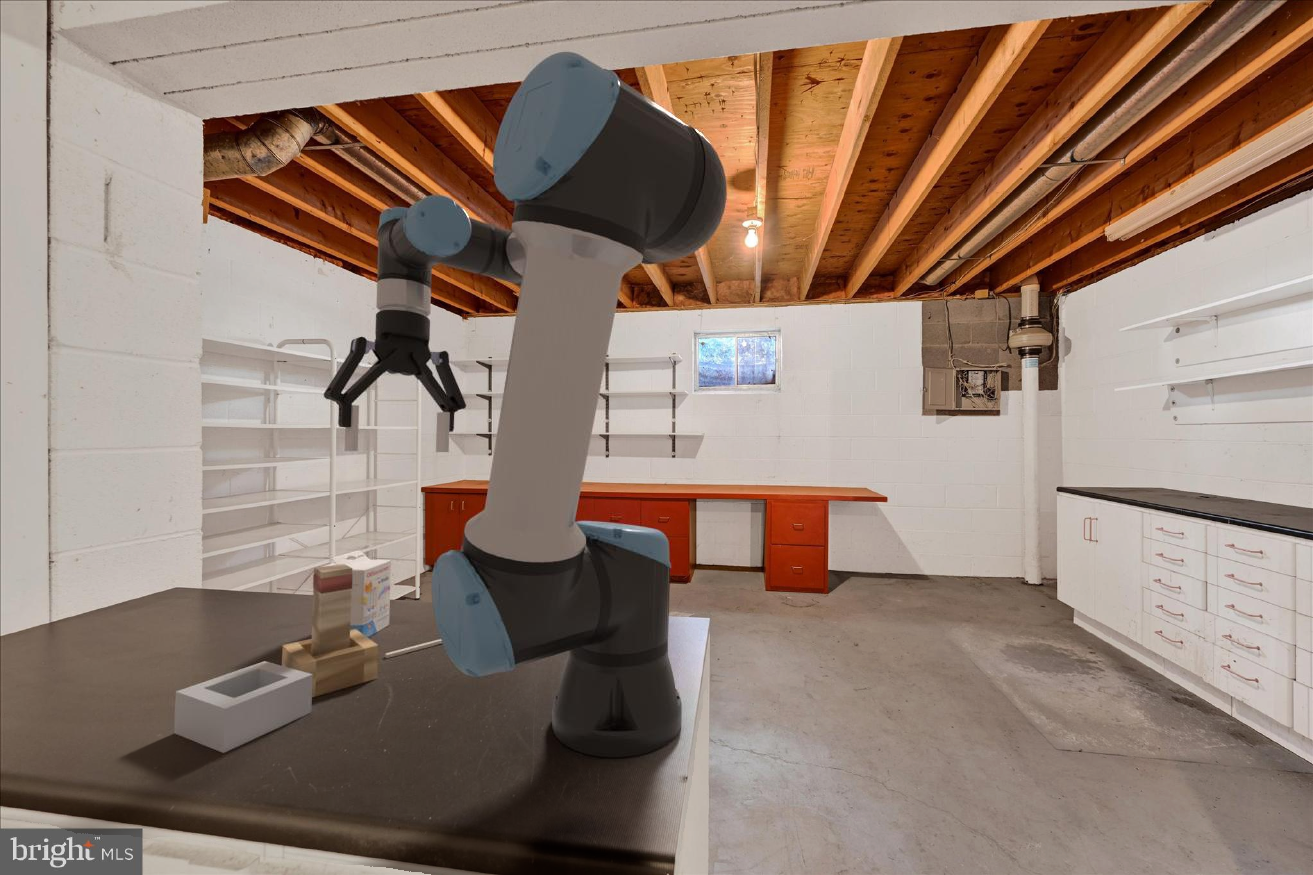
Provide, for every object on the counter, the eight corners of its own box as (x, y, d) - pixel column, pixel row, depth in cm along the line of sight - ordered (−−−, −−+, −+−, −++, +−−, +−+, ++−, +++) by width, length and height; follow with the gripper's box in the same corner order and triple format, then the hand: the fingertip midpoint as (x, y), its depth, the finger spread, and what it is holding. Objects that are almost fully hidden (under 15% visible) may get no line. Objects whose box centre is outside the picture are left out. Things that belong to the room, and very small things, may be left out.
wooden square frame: (377, 678, 70) (378, 645, 71) (299, 701, 64) (300, 664, 64) (354, 659, 76) (355, 628, 77) (281, 678, 70) (282, 645, 70)
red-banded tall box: (348, 678, 70) (352, 568, 71) (317, 687, 68) (321, 572, 68) (340, 670, 73) (343, 563, 73) (309, 678, 70) (313, 567, 70)
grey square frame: (311, 712, 61) (312, 674, 61) (223, 753, 53) (225, 708, 53) (263, 697, 65) (264, 661, 65) (174, 733, 56) (175, 691, 56)
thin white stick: (451, 640, 85) (451, 637, 85) (386, 658, 77) (387, 654, 77) (449, 639, 85) (449, 636, 85) (385, 656, 78) (385, 653, 78)
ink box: (361, 642, 83) (364, 559, 83) (310, 641, 83) (313, 558, 84) (390, 624, 92) (392, 549, 92) (343, 623, 92) (346, 548, 92)
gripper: (465, 333, 91) (462, 452, 91) (301, 299, 72) (295, 450, 72) (489, 326, 87) (486, 452, 86) (320, 289, 67) (314, 450, 67)
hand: (399, 451), depth 79 cm, fingers open, 13 cm apart
